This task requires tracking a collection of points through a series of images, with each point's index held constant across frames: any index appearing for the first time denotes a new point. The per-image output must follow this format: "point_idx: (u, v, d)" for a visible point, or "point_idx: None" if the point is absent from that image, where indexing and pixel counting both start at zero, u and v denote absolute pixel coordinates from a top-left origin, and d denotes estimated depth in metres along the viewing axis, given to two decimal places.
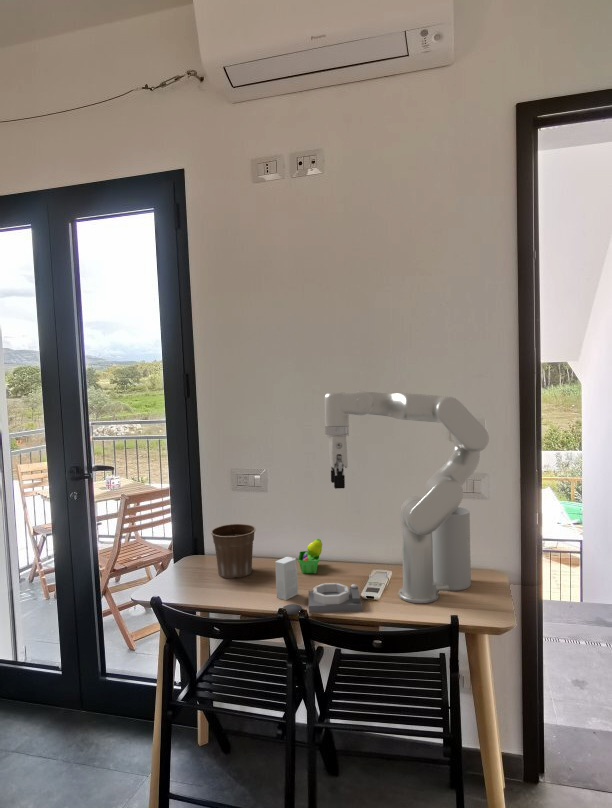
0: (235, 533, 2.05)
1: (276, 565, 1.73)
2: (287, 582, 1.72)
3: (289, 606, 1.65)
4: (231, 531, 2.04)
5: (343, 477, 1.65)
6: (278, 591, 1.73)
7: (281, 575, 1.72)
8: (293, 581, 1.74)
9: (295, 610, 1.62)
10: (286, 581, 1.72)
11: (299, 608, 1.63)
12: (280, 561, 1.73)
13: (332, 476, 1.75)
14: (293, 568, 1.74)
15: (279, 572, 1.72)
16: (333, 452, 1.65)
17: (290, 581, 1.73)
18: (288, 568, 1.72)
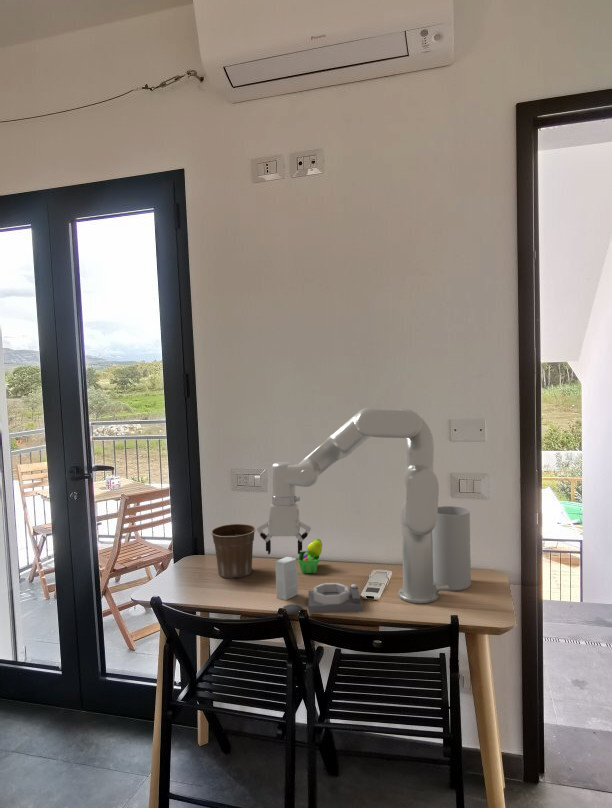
0: (235, 533, 2.05)
1: (276, 565, 1.73)
2: (287, 582, 1.72)
3: (289, 606, 1.65)
4: (231, 531, 2.04)
5: None
6: (278, 591, 1.73)
7: (281, 575, 1.72)
8: (293, 581, 1.74)
9: (295, 610, 1.62)
10: (286, 581, 1.72)
11: (299, 608, 1.63)
12: (280, 561, 1.73)
13: (269, 548, 1.73)
14: (293, 568, 1.74)
15: (279, 572, 1.72)
16: (298, 520, 1.72)
17: (290, 581, 1.73)
18: (288, 568, 1.72)
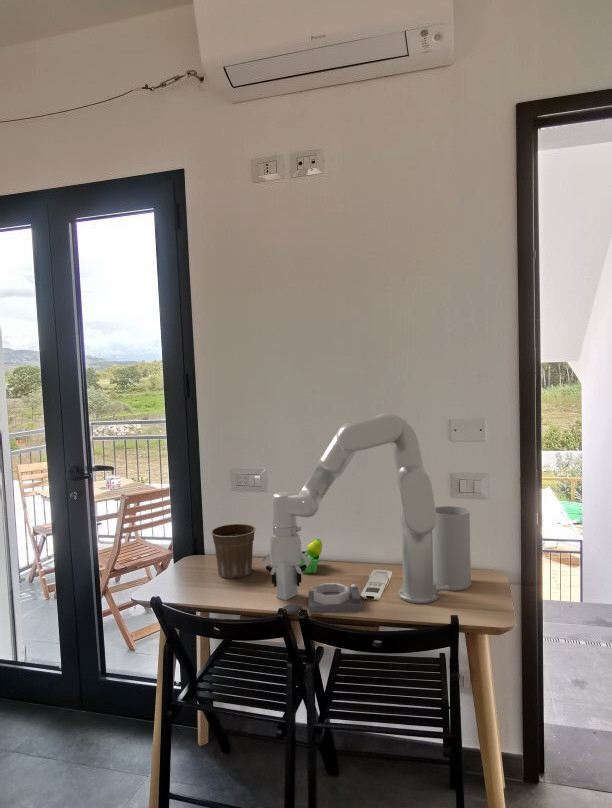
0: (235, 533, 2.05)
1: None
2: (287, 582, 1.72)
3: (289, 606, 1.65)
4: (231, 531, 2.04)
5: None
6: (278, 591, 1.73)
7: (281, 575, 1.72)
8: (293, 581, 1.74)
9: (295, 610, 1.62)
10: (286, 581, 1.72)
11: (299, 608, 1.63)
12: None
13: (275, 580, 1.73)
14: (293, 568, 1.74)
15: (279, 572, 1.72)
16: (300, 550, 1.73)
17: (290, 581, 1.73)
18: (288, 568, 1.72)
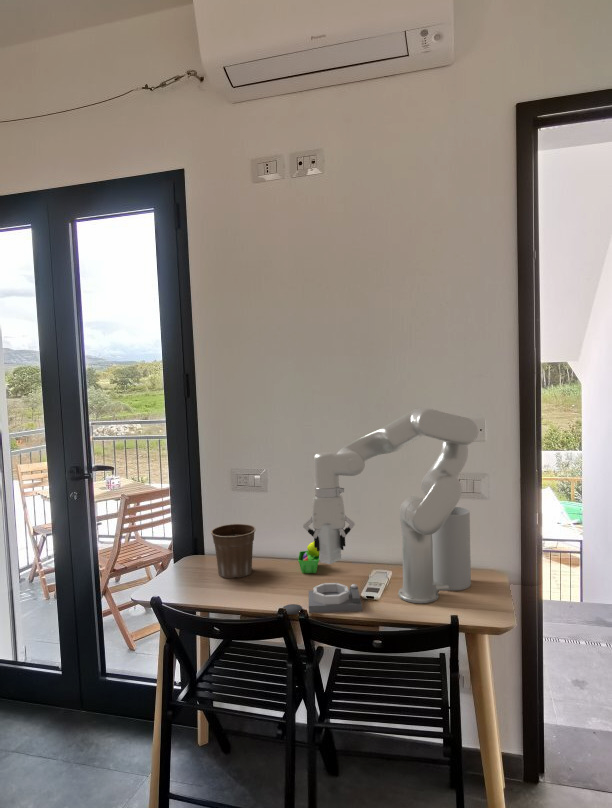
0: (235, 533, 2.05)
1: None
2: (330, 546, 1.64)
3: (289, 606, 1.65)
4: (231, 531, 2.04)
5: None
6: (321, 555, 1.66)
7: (325, 538, 1.64)
8: (337, 544, 1.67)
9: (295, 610, 1.62)
10: (330, 544, 1.64)
11: (299, 608, 1.63)
12: None
13: (318, 544, 1.66)
14: (336, 531, 1.67)
15: (322, 535, 1.65)
16: (343, 512, 1.65)
17: (334, 545, 1.65)
18: (332, 531, 1.65)
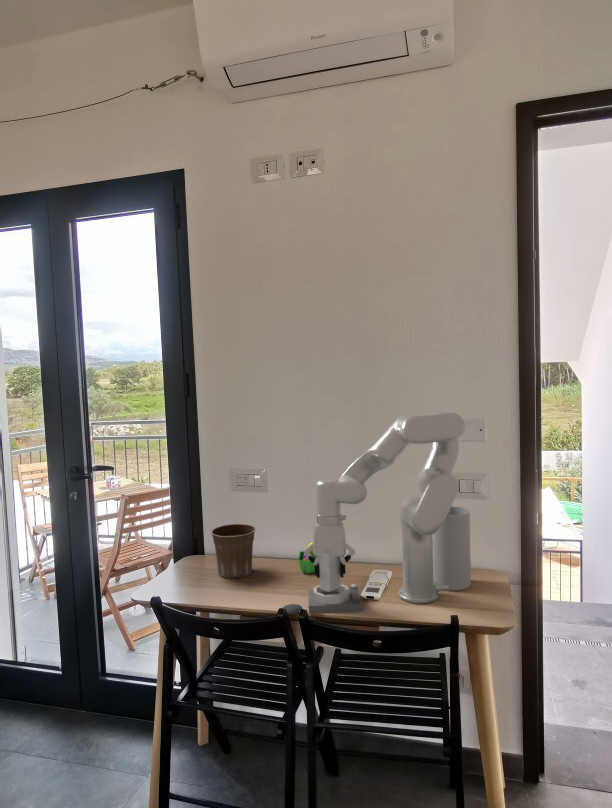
0: (235, 533, 2.05)
1: None
2: (331, 573, 1.64)
3: (289, 606, 1.65)
4: (231, 531, 2.04)
5: None
6: (321, 582, 1.66)
7: (325, 566, 1.65)
8: (337, 572, 1.67)
9: (295, 610, 1.62)
10: (330, 571, 1.64)
11: (299, 608, 1.63)
12: None
13: (318, 571, 1.66)
14: (337, 559, 1.67)
15: (322, 563, 1.65)
16: (344, 540, 1.65)
17: (334, 572, 1.66)
18: (332, 558, 1.65)
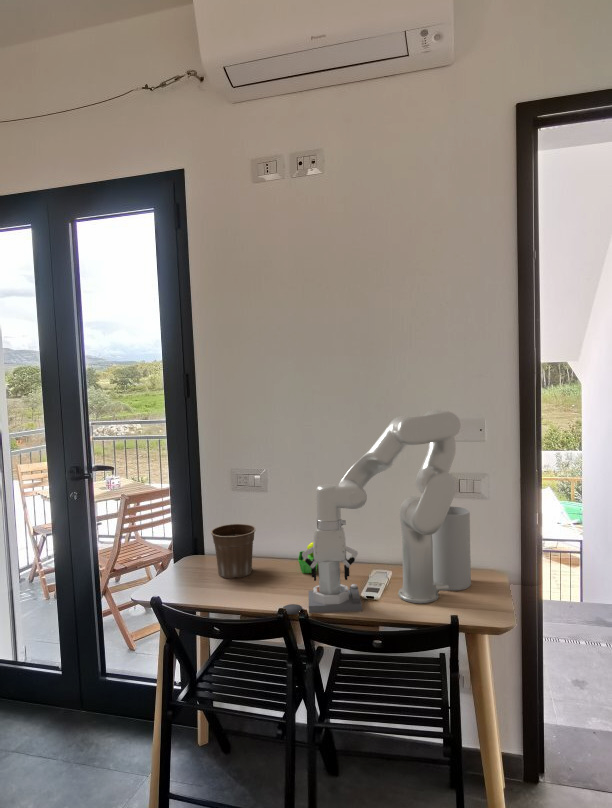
0: (235, 533, 2.05)
1: (319, 565, 1.66)
2: (331, 583, 1.65)
3: (289, 606, 1.65)
4: (231, 531, 2.04)
5: None
6: (322, 592, 1.66)
7: (325, 575, 1.65)
8: (337, 581, 1.67)
9: (295, 610, 1.62)
10: (331, 581, 1.64)
11: (299, 608, 1.63)
12: None
13: (315, 574, 1.66)
14: (337, 568, 1.67)
15: (322, 573, 1.65)
16: (345, 545, 1.65)
17: (334, 582, 1.66)
18: (332, 568, 1.65)
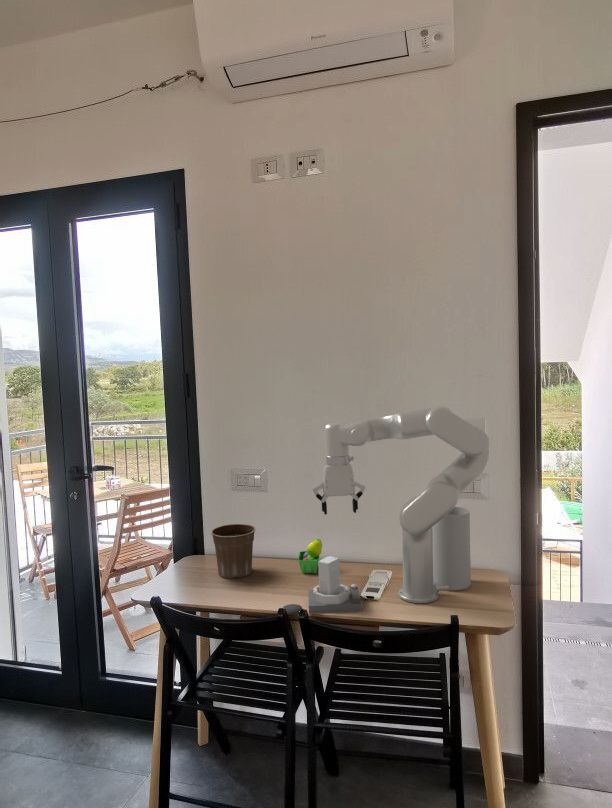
0: (235, 533, 2.05)
1: (319, 565, 1.66)
2: (331, 583, 1.65)
3: (289, 606, 1.65)
4: (231, 531, 2.04)
5: None
6: (321, 592, 1.66)
7: (325, 575, 1.65)
8: (336, 581, 1.67)
9: (295, 610, 1.62)
10: (331, 581, 1.64)
11: (299, 608, 1.63)
12: (323, 561, 1.66)
13: None
14: (336, 568, 1.67)
15: (322, 573, 1.65)
16: (353, 479, 1.75)
17: (334, 582, 1.66)
18: (332, 568, 1.65)
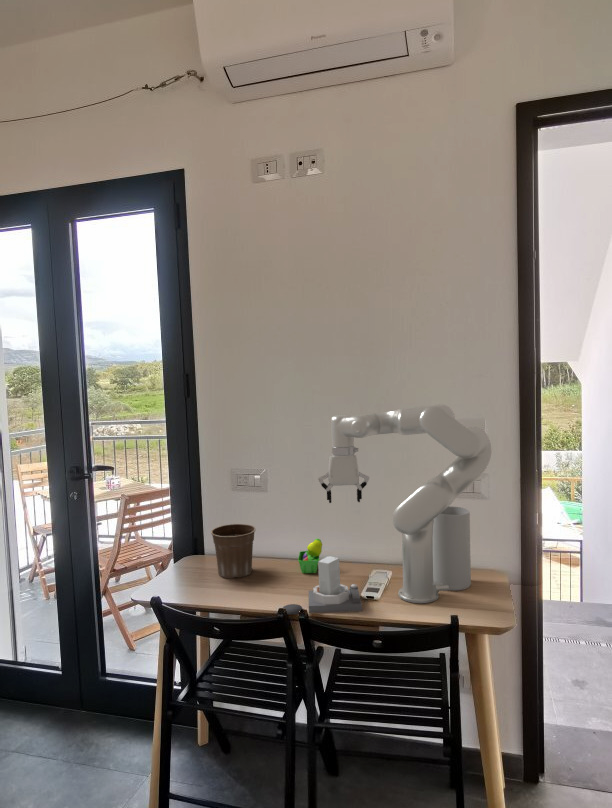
0: (235, 533, 2.05)
1: (319, 565, 1.66)
2: (331, 583, 1.65)
3: (289, 606, 1.65)
4: (231, 531, 2.04)
5: None
6: (321, 592, 1.66)
7: (325, 575, 1.65)
8: (336, 581, 1.67)
9: (295, 610, 1.62)
10: (331, 581, 1.64)
11: (299, 608, 1.63)
12: (323, 561, 1.66)
13: None
14: (336, 568, 1.67)
15: (322, 573, 1.65)
16: (357, 469, 1.81)
17: (334, 582, 1.66)
18: (332, 568, 1.65)
